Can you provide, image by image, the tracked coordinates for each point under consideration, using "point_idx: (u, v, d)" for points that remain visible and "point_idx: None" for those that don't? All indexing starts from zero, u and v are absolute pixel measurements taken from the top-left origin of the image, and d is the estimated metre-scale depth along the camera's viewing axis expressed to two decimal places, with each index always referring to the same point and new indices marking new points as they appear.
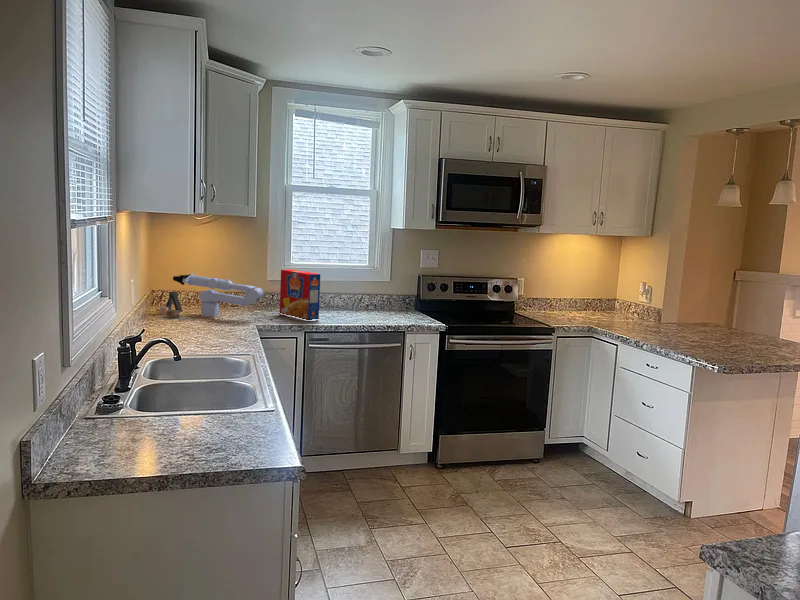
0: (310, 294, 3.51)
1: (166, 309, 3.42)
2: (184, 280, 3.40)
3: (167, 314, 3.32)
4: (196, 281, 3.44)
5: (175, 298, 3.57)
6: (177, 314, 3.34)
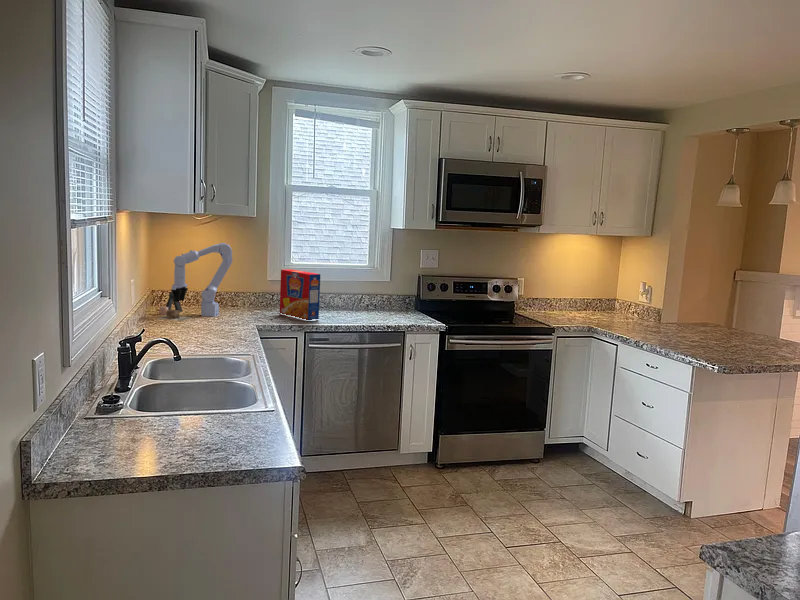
0: (310, 294, 3.51)
1: (166, 309, 3.42)
2: (173, 287, 3.32)
3: (167, 314, 3.32)
4: (177, 278, 3.36)
5: None
6: (177, 314, 3.34)
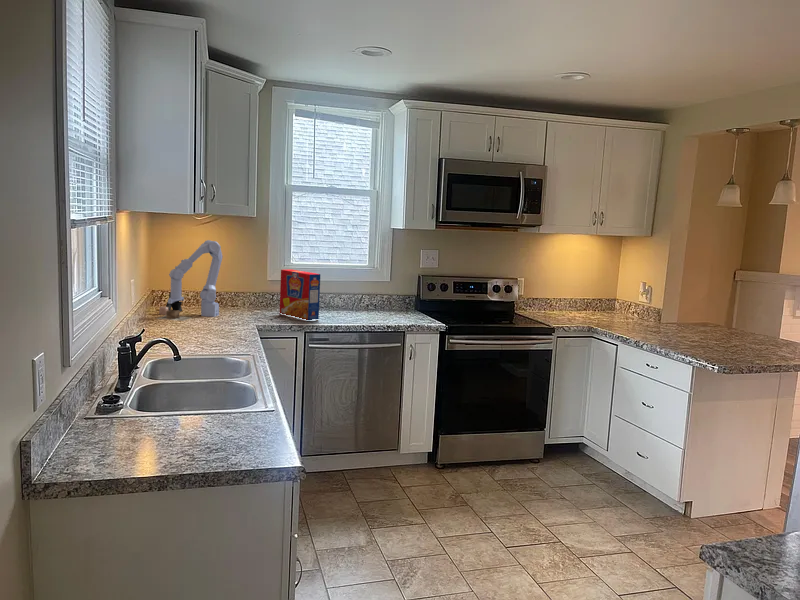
0: (310, 294, 3.51)
1: (166, 309, 3.42)
2: (169, 301, 3.29)
3: (167, 314, 3.31)
4: (174, 291, 3.33)
5: None
6: (177, 314, 3.34)
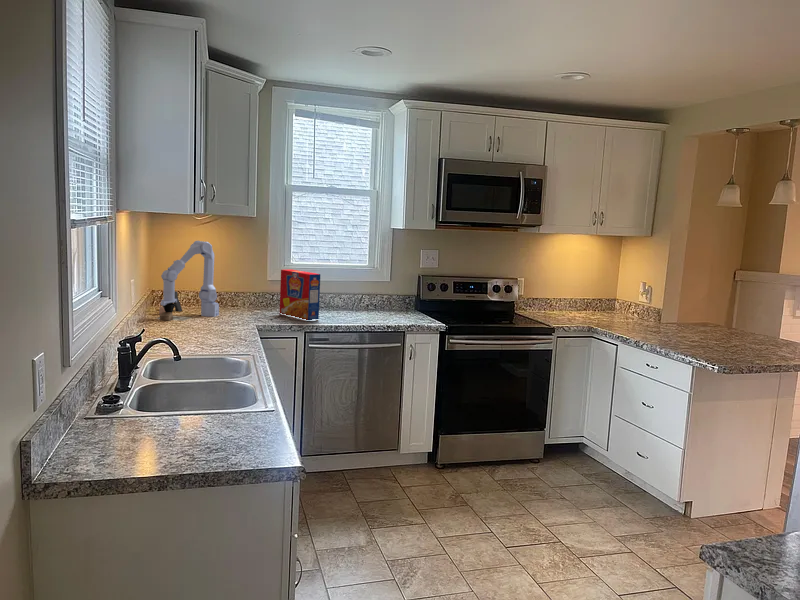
0: (310, 294, 3.51)
1: None
2: (161, 303, 3.21)
3: (161, 318, 3.24)
4: (167, 293, 3.25)
5: (175, 298, 3.57)
6: (171, 317, 3.26)
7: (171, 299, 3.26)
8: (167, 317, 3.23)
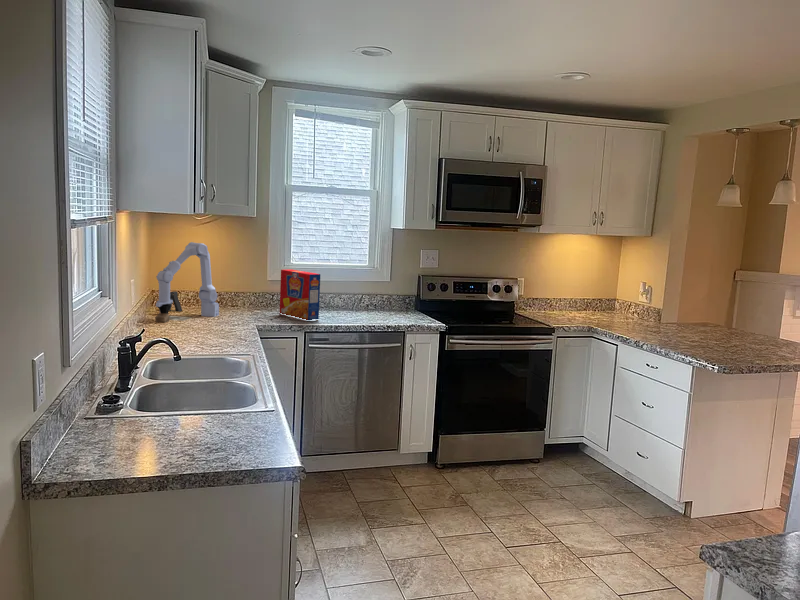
0: (310, 294, 3.51)
1: None
2: (157, 304, 3.16)
3: (156, 320, 3.19)
4: (162, 294, 3.20)
5: (175, 298, 3.57)
6: (167, 318, 3.21)
7: (167, 300, 3.21)
8: (163, 319, 3.18)
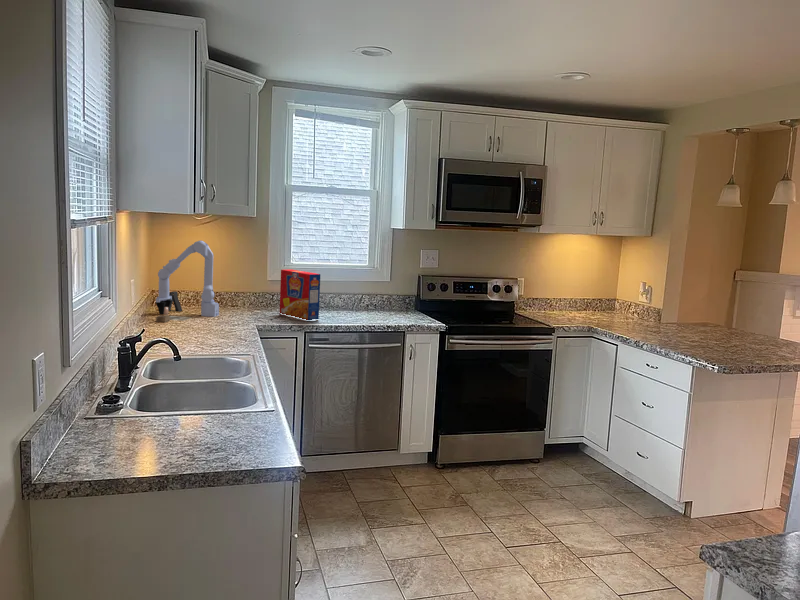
0: (310, 294, 3.51)
1: (166, 309, 3.42)
2: (157, 300, 3.36)
3: (157, 320, 3.19)
4: (162, 290, 3.40)
5: (175, 298, 3.57)
6: (167, 320, 3.22)
7: (166, 296, 3.41)
8: (163, 319, 3.19)
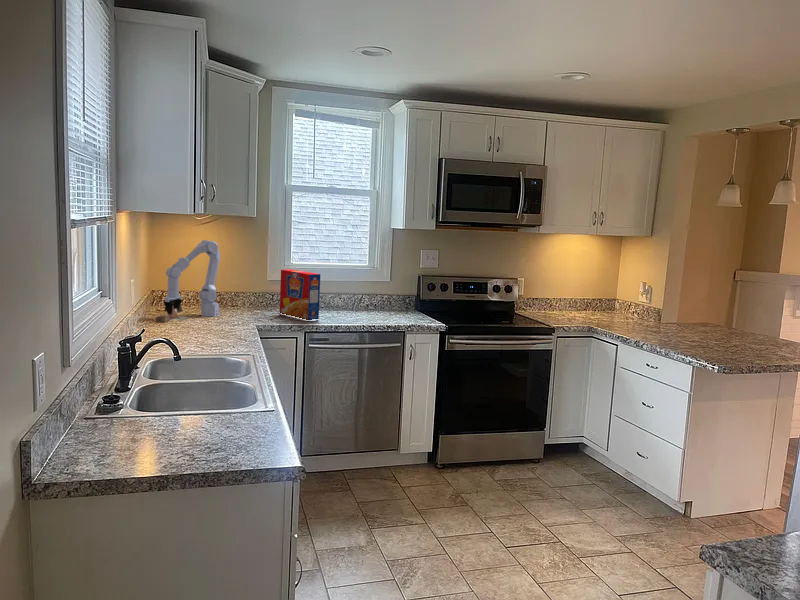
0: (310, 294, 3.51)
1: (175, 311, 3.32)
2: (166, 300, 3.25)
3: (157, 320, 3.20)
4: (171, 289, 3.29)
5: None
6: (167, 320, 3.22)
7: (175, 296, 3.31)
8: (163, 319, 3.19)
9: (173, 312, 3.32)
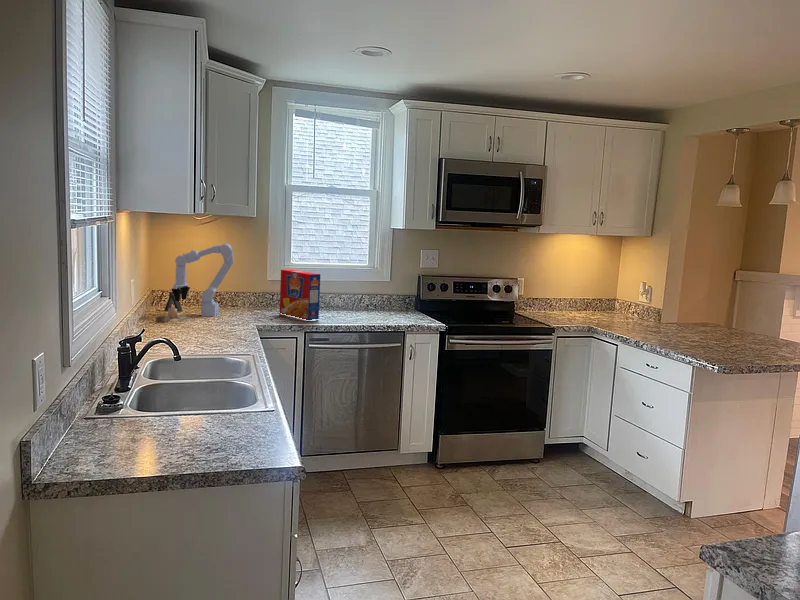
0: (310, 294, 3.51)
1: (175, 311, 3.32)
2: (174, 287, 3.36)
3: (157, 320, 3.20)
4: (179, 277, 3.39)
5: None
6: (167, 320, 3.22)
7: (183, 283, 3.41)
8: (163, 319, 3.19)
9: (173, 312, 3.32)
